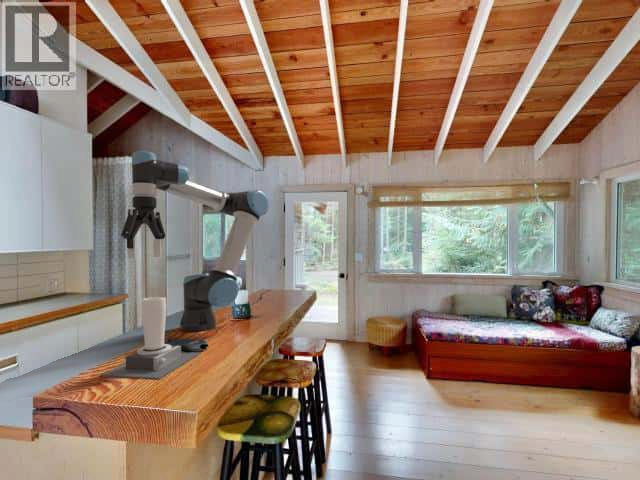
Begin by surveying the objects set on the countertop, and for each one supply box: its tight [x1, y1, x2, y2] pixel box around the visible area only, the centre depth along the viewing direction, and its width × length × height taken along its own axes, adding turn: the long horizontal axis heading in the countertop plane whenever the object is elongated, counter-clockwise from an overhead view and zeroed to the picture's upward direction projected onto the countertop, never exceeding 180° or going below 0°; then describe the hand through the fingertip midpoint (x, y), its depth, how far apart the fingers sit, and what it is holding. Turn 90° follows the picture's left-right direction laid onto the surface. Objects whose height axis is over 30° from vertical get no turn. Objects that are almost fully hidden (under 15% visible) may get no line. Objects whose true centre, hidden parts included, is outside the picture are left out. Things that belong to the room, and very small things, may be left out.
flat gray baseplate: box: [99, 344, 202, 380], centre depth 106 cm, size 22×18×5 cm
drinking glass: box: [141, 296, 167, 350], centre depth 107 cm, size 7×7×15 cm
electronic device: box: [164, 337, 209, 353], centre depth 122 cm, size 9×6×15 cm
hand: (145, 257), depth 123 cm, fingers open, 13 cm apart
